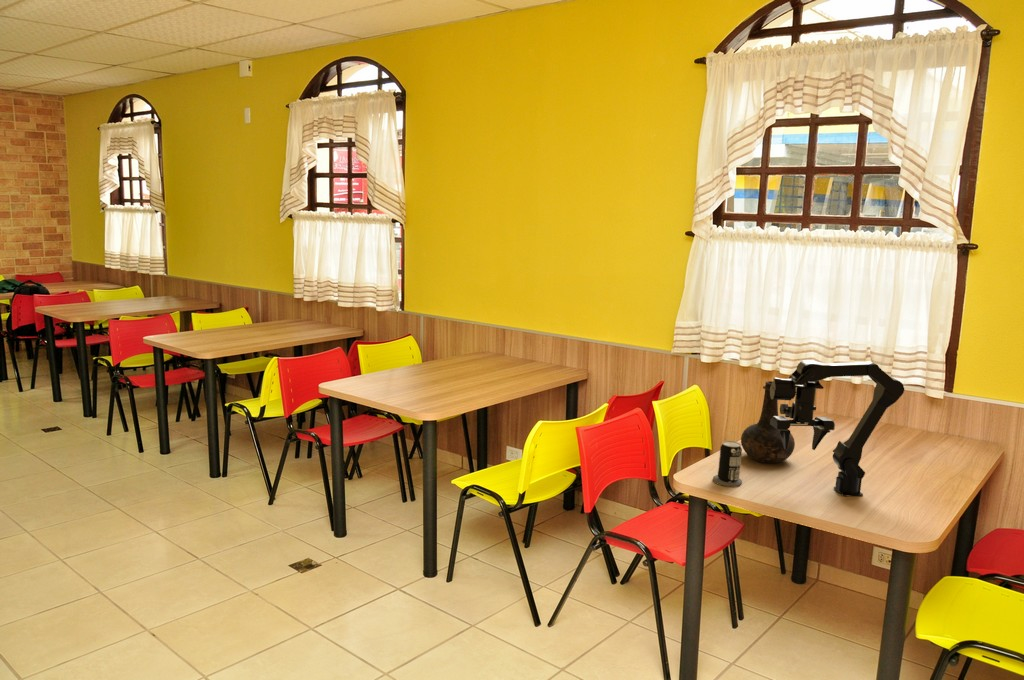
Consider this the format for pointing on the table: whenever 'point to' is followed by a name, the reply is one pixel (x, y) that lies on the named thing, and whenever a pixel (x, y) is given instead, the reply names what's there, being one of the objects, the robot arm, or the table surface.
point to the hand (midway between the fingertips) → (799, 449)
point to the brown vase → (766, 435)
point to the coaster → (737, 483)
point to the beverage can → (729, 461)
